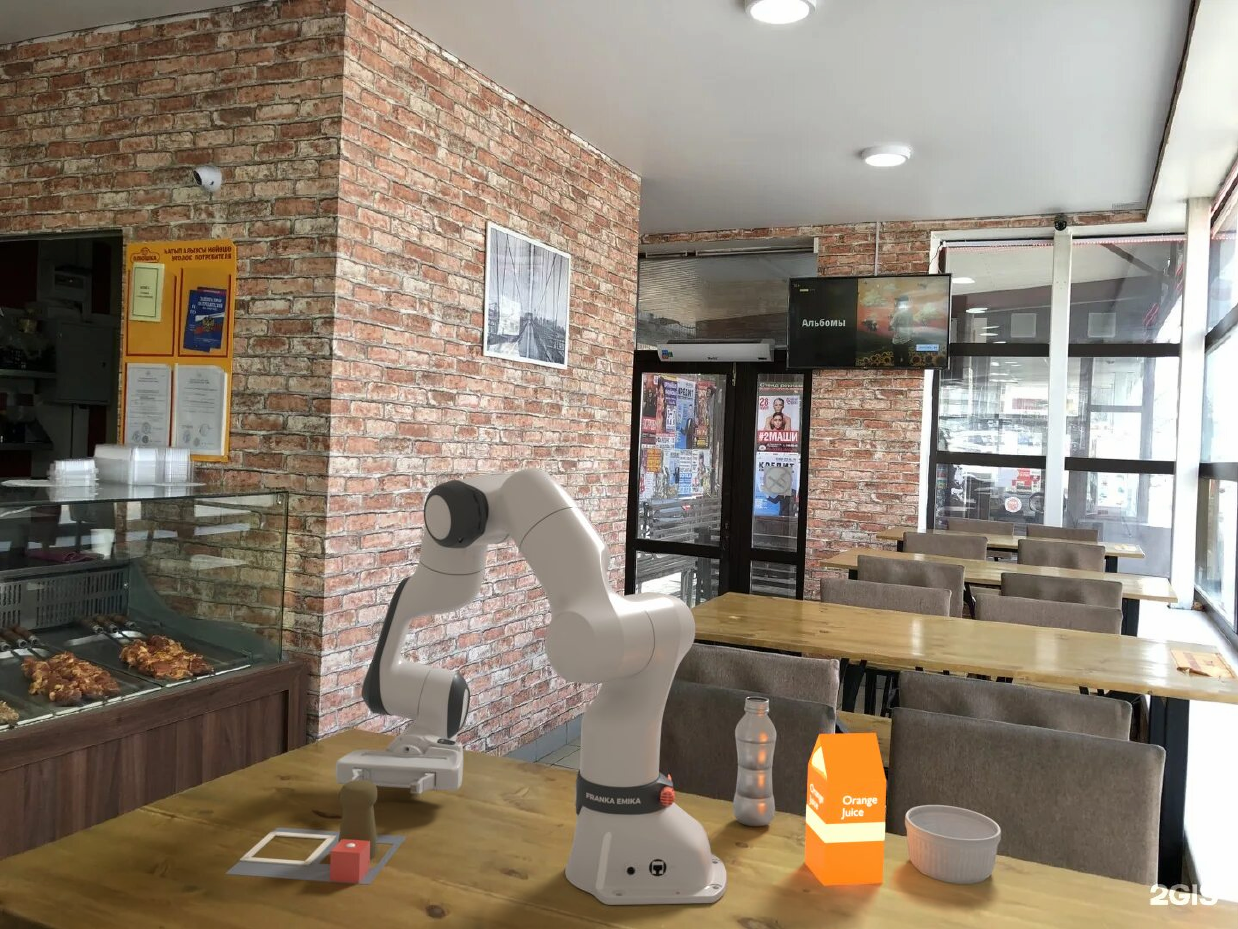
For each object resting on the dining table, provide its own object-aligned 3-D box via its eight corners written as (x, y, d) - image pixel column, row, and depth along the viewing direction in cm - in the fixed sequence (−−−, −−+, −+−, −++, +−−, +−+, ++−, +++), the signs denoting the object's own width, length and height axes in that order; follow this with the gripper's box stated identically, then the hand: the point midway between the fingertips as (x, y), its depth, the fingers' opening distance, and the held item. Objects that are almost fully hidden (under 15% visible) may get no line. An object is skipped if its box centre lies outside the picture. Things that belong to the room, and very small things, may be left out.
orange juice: (883, 883, 137) (888, 741, 136) (823, 886, 135) (828, 742, 135) (860, 859, 145) (865, 725, 144) (803, 861, 143) (808, 726, 143)
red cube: (369, 870, 134) (370, 840, 134) (359, 883, 130) (359, 852, 130) (341, 868, 135) (341, 838, 134) (329, 880, 131) (330, 850, 131)
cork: (355, 872, 135) (357, 793, 135) (325, 861, 138) (327, 784, 138) (387, 857, 140) (389, 781, 140) (358, 847, 144) (360, 772, 143)
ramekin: (1013, 869, 143) (1014, 821, 143) (978, 898, 133) (980, 848, 133) (926, 842, 152) (928, 798, 152) (887, 868, 142) (889, 821, 142)
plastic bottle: (777, 832, 154) (781, 705, 153) (734, 830, 154) (738, 704, 153) (771, 816, 160) (775, 695, 160) (730, 815, 160) (734, 693, 160)
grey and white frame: (406, 841, 146) (406, 835, 146) (369, 890, 130) (369, 883, 130) (277, 832, 148) (277, 826, 148) (225, 879, 132) (225, 872, 132)
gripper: (352, 736, 165) (319, 763, 151) (471, 743, 163) (449, 770, 149) (351, 773, 165) (319, 803, 151) (470, 780, 163) (448, 811, 149)
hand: (384, 787), depth 150 cm, fingers open, 8 cm apart
